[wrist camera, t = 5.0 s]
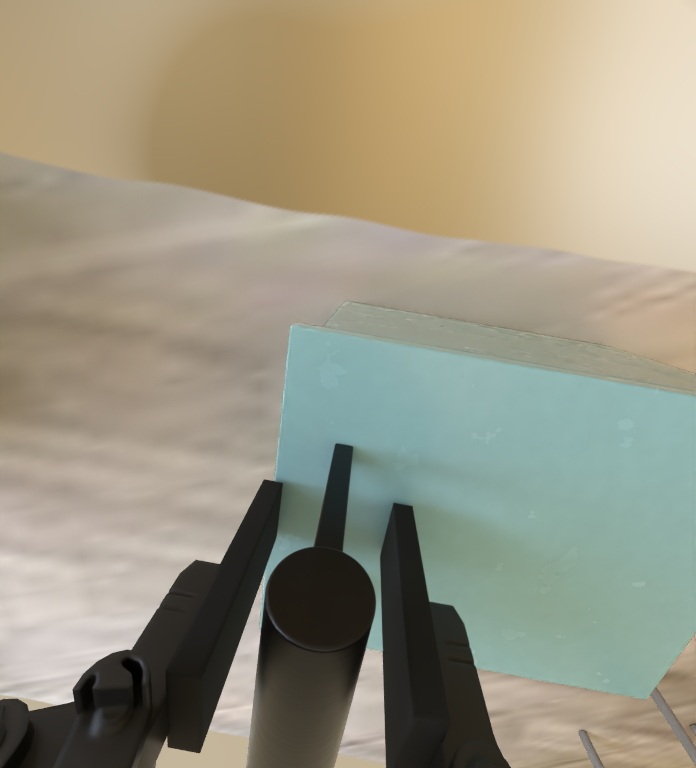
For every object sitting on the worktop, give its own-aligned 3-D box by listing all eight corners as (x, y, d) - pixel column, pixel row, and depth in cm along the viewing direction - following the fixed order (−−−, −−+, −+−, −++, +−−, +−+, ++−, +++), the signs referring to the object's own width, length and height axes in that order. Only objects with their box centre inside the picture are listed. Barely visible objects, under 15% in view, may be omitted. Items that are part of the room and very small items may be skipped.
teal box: (316, 484, 27) (283, 616, 17) (344, 300, 22) (322, 326, 12) (532, 523, 27) (633, 680, 17) (609, 346, 22) (820, 412, 12)
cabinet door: (263, 613, 17) (174, 896, 9) (295, 321, 12) (159, 411, 4) (634, 681, 16) (857, 1028, 9) (822, 413, 12) (1661, 678, 4)
